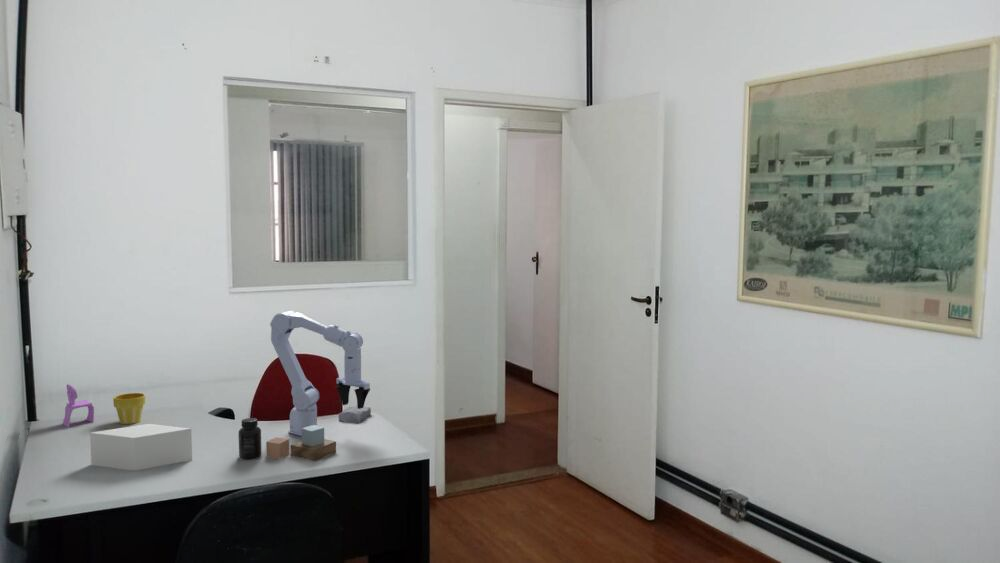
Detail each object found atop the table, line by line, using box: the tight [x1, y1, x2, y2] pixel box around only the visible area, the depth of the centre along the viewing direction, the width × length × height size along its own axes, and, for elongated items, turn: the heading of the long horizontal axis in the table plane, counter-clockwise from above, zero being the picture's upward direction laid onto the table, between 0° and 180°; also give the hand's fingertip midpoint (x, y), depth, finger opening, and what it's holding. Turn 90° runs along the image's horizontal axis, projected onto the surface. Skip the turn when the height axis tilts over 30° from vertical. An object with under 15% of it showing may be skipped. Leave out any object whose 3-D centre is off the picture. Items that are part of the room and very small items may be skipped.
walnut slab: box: [290, 438, 337, 462], centre depth 226 cm, size 10×10×4 cm
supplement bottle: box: [238, 417, 263, 461], centre depth 222 cm, size 7×7×12 cm
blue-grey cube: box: [301, 424, 325, 446], centre depth 225 cm, size 5×5×5 cm
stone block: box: [337, 406, 372, 423], centre depth 267 cm, size 12×5×10 cm
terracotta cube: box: [265, 436, 290, 460], centre depth 224 cm, size 5×5×5 cm
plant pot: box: [112, 392, 146, 425], centre depth 257 cm, size 10×10×10 cm
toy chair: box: [61, 383, 95, 428], centre depth 254 cm, size 8×9×15 cm
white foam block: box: [89, 423, 193, 472], centre depth 215 cm, size 14×29×10 cm, turn 101°
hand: (352, 406), depth 245 cm, fingers open, 7 cm apart
